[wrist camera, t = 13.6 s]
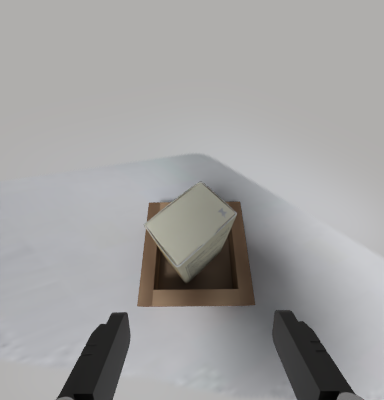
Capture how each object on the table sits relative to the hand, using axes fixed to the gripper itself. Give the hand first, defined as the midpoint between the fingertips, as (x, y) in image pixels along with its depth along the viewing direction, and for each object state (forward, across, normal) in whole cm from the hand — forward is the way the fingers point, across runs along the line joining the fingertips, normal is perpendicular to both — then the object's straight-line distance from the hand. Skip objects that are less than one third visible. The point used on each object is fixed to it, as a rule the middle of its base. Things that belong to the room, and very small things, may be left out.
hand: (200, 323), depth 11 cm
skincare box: (+14, 0, +5) cm, 15 cm away
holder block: (+15, 0, +5) cm, 16 cm away
